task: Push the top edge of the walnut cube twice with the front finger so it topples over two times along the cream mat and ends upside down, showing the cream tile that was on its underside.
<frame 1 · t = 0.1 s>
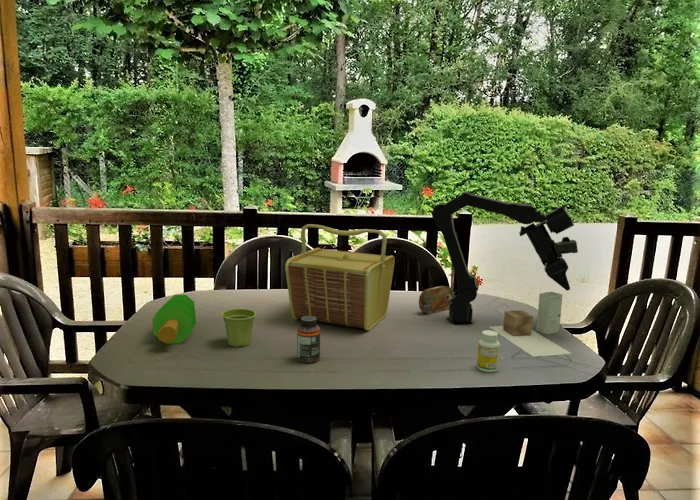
hand: (566, 286, 169), 15 cm above the table, tool tilted 30°, fingers open, 9 cm apart
cream mat: (527, 340, 164), on the table
plant pot: (239, 343, 155), on the table
walnut cube: (517, 332, 170), resting on cream mat
picnic basket: (340, 319, 179), on the table
decorative tree: (179, 334, 162), on the table
supplement bottle: (487, 369, 142), on the table
skincare box: (547, 332, 172), on the table
tin: (435, 311, 191), on the table
supplement bottle 2: (308, 360, 145), on the table
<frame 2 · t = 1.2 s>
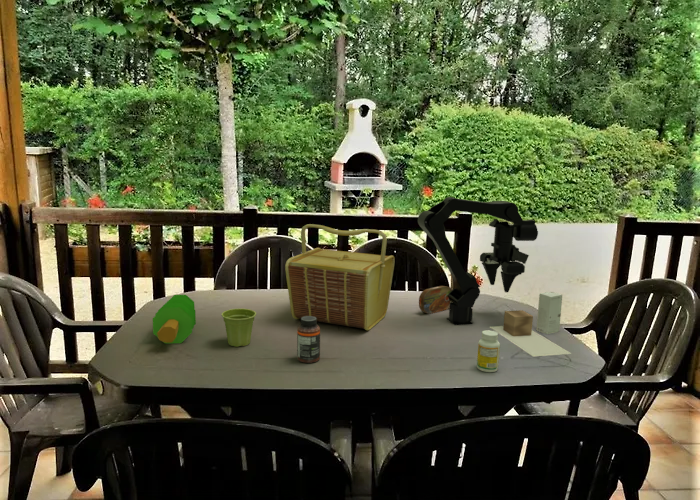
hand: (499, 288, 179), 11 cm above the table, tool pointing down, fingers open, 9 cm apart
nothing on the table moved.
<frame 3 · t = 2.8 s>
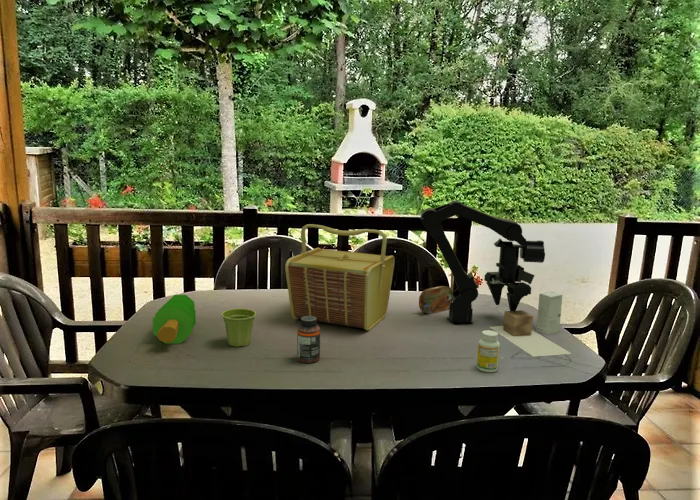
hand: (504, 309, 177), 5 cm above the table, tool pointing down, fingers open, 9 cm apart
walnut cube: (517, 332, 170), resting on cream mat, touching gripper
everything else where it was.
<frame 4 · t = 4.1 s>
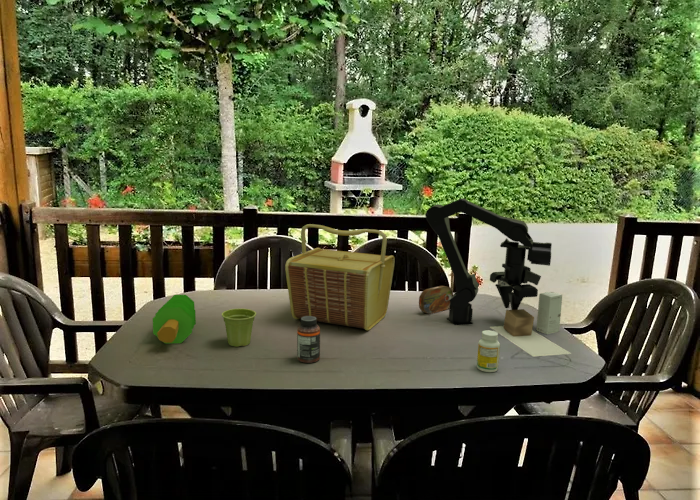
hand: (510, 310, 173), 6 cm above the table, tool pointing down, fingers open, 4 cm apart
walnut cube: (517, 331, 169), point 1 cm above the table, tilted 6°, touching cream mat, gripper
everything else where it was.
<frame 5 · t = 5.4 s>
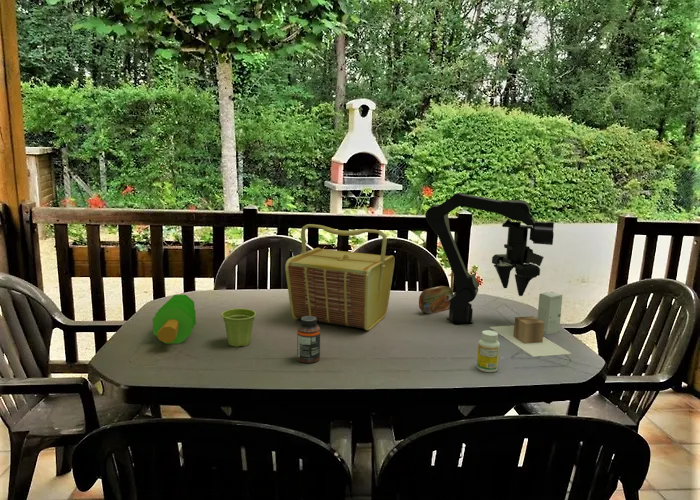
hand: (512, 291, 172), 12 cm above the table, tool pointing down, fingers open, 9 cm apart
walnut cube: (523, 326, 166), point 3 cm above the table, tilted 90°, touching cream mat
everything else where it was.
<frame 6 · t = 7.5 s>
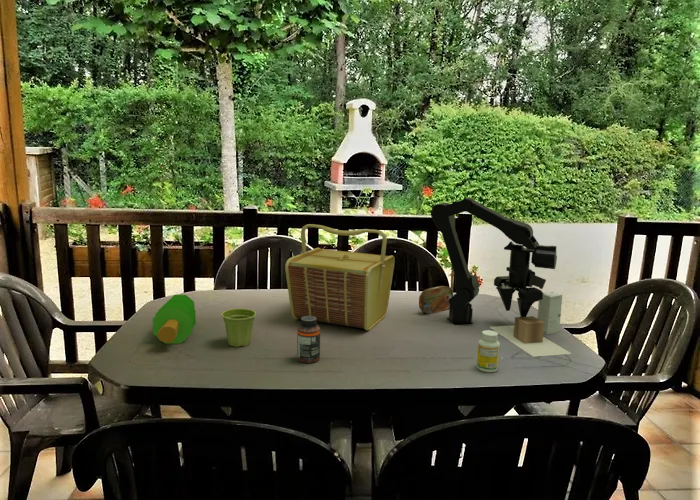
hand: (515, 314, 171), 5 cm above the table, tool pointing down, fingers open, 8 cm apart
walnut cube: (523, 326, 166), point 3 cm above the table, tilted 90°, touching cream mat, gripper
everything else where it was.
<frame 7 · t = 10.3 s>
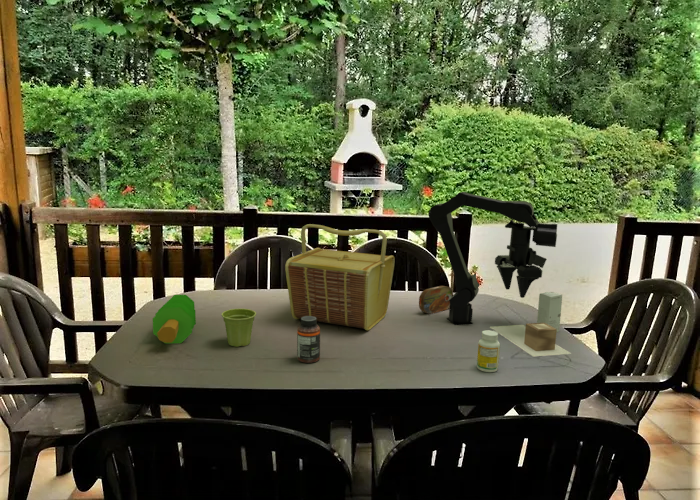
hand: (514, 293, 171), 12 cm above the table, tool pointing down, fingers open, 9 cm apart
walnut cube: (541, 326, 157), point 6 cm above the table, tilted 180°, touching cream mat
everything else where it was.
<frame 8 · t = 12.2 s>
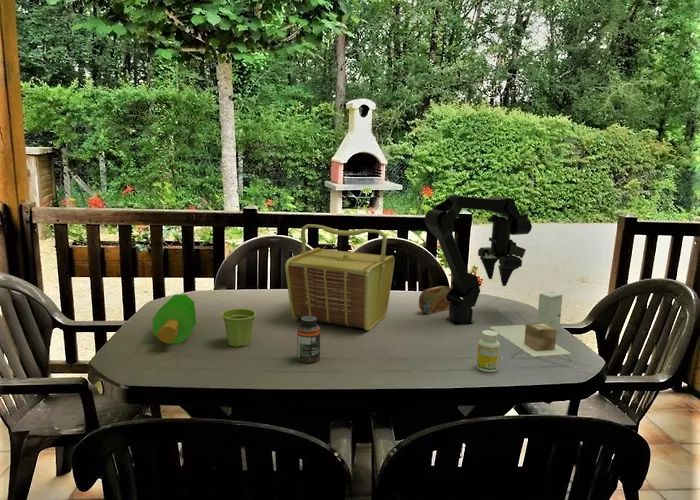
hand: (497, 282, 183), 12 cm above the table, tool pointing down, fingers open, 9 cm apart
nothing on the table moved.
at the end: walnut cube tilted 180°; walnut cube inside the target area (1.0 cm from its centre), point 6.3 cm above the table; the gripper is holding nothing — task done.
